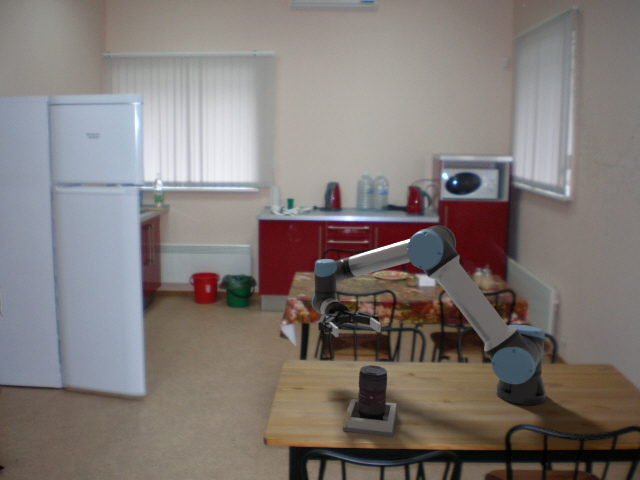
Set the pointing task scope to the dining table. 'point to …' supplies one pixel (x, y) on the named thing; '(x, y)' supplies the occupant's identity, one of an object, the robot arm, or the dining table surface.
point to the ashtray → (370, 420)
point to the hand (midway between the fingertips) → (358, 330)
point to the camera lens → (372, 392)
